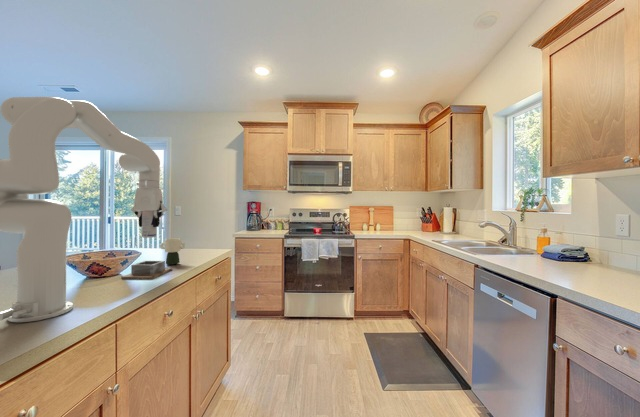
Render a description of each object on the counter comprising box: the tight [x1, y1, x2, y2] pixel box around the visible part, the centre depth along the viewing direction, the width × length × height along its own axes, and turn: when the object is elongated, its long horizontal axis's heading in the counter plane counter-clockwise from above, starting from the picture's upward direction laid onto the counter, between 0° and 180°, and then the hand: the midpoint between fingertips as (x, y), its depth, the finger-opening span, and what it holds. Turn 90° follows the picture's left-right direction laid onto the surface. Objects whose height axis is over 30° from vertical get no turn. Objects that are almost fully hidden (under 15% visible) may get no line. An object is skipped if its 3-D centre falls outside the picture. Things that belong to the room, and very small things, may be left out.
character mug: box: [160, 237, 186, 265], centre depth 138 cm, size 11×7×13 cm, turn 104°
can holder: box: [121, 260, 173, 280], centre depth 118 cm, size 16×12×5 cm
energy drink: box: [141, 211, 157, 239], centre depth 117 cm, size 5×5×12 cm
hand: (149, 226), depth 117 cm, fingers closed on energy drink, 5 cm apart
